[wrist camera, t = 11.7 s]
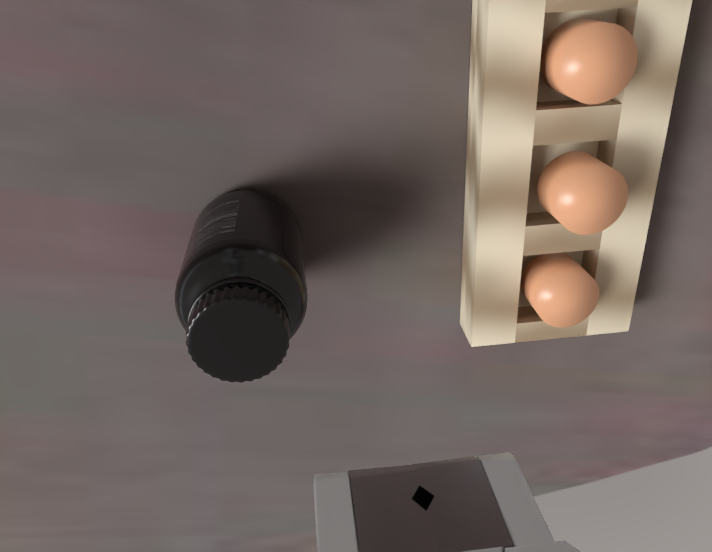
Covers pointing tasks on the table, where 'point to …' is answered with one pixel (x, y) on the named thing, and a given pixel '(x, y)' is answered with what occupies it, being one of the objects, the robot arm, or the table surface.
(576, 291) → the button
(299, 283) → the supplement bottle
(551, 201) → the button mid
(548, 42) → the button
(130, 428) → the table surface
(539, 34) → the wooden egg tray
